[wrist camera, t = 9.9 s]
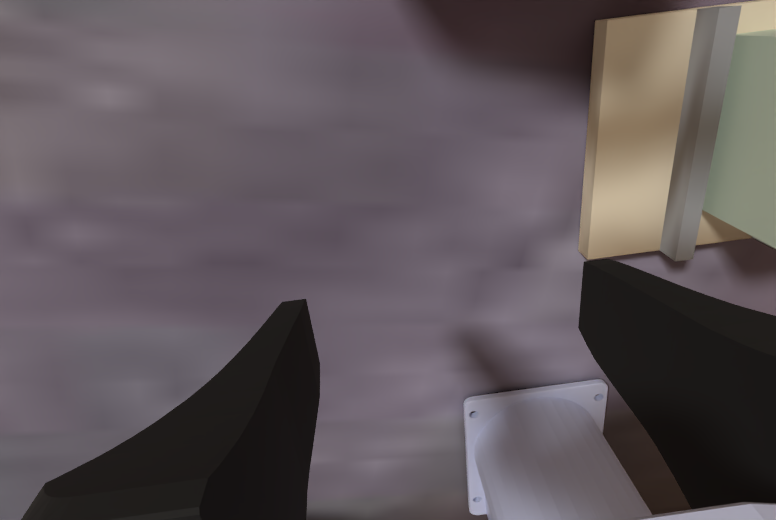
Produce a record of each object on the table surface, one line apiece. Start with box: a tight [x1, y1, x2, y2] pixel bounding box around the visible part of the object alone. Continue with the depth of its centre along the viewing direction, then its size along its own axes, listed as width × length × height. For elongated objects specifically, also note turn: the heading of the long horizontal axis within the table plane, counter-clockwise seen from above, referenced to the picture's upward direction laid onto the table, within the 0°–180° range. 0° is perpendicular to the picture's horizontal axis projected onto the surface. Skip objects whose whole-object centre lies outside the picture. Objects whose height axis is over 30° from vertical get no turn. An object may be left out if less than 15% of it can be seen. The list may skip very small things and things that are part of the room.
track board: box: [578, 0, 776, 262], centre depth 20 cm, size 10×12×2 cm
